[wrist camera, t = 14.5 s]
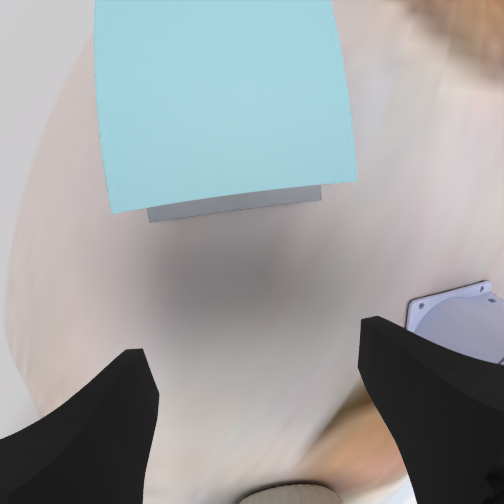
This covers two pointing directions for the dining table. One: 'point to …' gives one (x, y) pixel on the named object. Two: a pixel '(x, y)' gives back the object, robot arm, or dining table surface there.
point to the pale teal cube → (219, 98)
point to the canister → (294, 495)
